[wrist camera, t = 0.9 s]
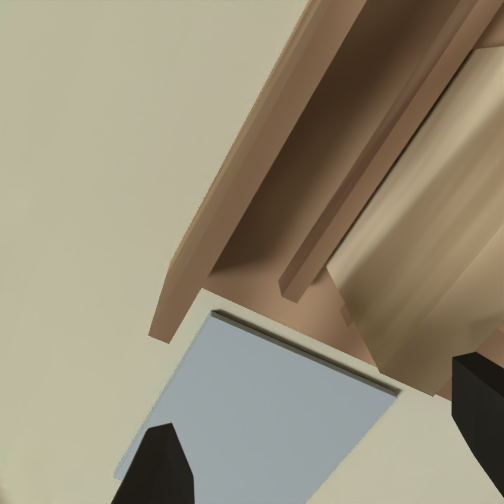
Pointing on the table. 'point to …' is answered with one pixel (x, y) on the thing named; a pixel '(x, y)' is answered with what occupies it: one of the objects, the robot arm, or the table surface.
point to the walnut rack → (322, 161)
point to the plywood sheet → (433, 235)
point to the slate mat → (260, 416)
